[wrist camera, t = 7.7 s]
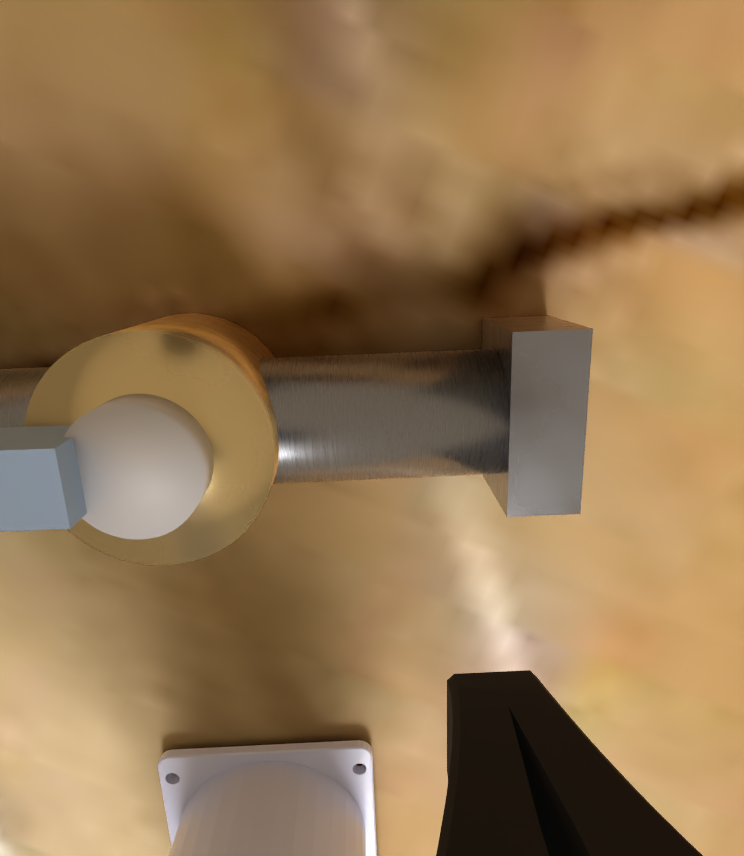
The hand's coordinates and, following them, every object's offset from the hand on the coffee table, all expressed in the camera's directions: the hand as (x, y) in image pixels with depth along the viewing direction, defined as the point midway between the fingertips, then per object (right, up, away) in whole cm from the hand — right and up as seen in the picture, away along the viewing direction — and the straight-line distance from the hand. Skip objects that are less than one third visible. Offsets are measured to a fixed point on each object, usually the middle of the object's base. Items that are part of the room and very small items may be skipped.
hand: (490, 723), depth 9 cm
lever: (-10, +4, +4) cm, 12 cm away
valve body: (-7, +5, +9) cm, 13 cm away
